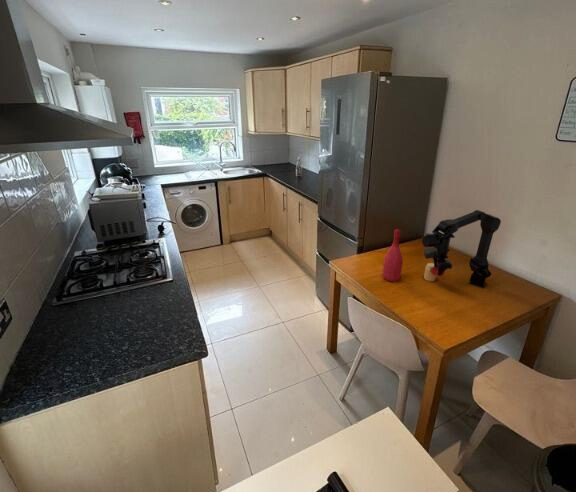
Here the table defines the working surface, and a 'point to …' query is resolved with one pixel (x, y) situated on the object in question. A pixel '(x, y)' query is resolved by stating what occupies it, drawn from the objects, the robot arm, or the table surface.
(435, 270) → the lid
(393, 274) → the wine bottle
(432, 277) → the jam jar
